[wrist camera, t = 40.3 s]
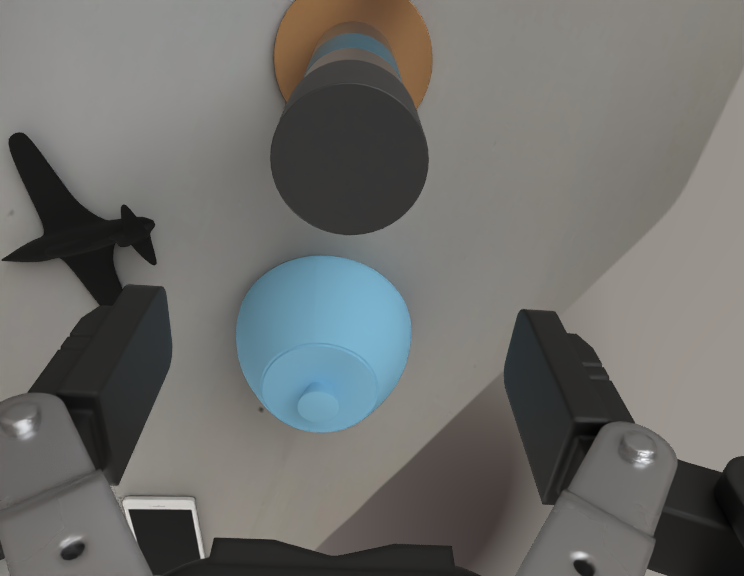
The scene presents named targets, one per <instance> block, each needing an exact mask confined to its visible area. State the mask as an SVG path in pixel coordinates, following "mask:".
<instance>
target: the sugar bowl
mask: <svg viewBox="0 0 744 576" xmlns="http://www.w3.org/2000/svg"><path fill="white" fill-rule="evenodd" d="M236 344H237V353H238V358H239V362H240V365H241V368H242V371H243V374H244V376H245V378H246V380H247V382H248V384H249V385H250V387H251V389H252V390H253V392H254V393H255V395H256V396H257V397H258V399H259V400H260V401H261V402H262V404H263V405H264V406H265V407H266V409H268V410H269V411H270V412H271V413H272V414H273V415H274V416H275V417H276V418H278V419H279V420H280V421H282V422H284V423H285V424H287V425H289V426H292V427H294V428H297V429H300V430H304V431H309V432H334V431H339V430H343V429H346V428H348V427H351V426H353V425H355V424H357V423H358V422H360V421H361V420H363V419H364V418H366V417H367V416H369V415H370V414H371V413H372V412H373V411H374V410H375V409H376V408H377V407H378V406H379V405H380V404H381V403H382V402H383V401H384V400H385V399H386V398H387V397H388V395H389V394H390V393H391V392H392V390H393V389H394V388H395V386H396V384H397V383H398V381H399V379H400V377H401V375H402V373H403V371H404V368H405V365H406V362H407V359H408V355H409V351H410V345H411V321H410V316H409V312H408V309H407V306H406V304H405V302H404V300H403V298H402V297H401V295H400V293H399V292H398V291H397V290H396V288H395V287H394V286H393V285H392V284H391V283H390V282H389V281H388V280H387V279H386V278H385V277H384V276H382V275H381V274H380V273H378V272H377V271H375V270H374V269H372V268H370V267H368V266H366V265H364V264H361V263H359V262H356V261H354V260H350V259H346V258H342V257H335V256H320V255H318V256H307V257H302V258H297V259H293V260H290V261H287V262H285V263H282V264H280V265H278V266H276V267H274V268H273V269H271V270H270V271H268V272H267V273H265V274H264V275H263V276H262V277H261V278H259V279H258V280H257V281H256V282H255V283H254V284H253V286H252V287H251V288H250V289H249V291H248V292H247V294H246V296H245V297H244V299H243V302H242V304H241V307H240V311H239V315H238V319H237V326H236Z"/></svg>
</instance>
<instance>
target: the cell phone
mask: <svg viewBox="0 0 744 576" xmlns="http://www.w3.org/2000/svg"><path fill="white" fill-rule="evenodd" d="M122 503H123V507H124V510H125V514H126V518H127V521H128V524H129V526H130V529H131V531H132V533H133V535H134V537H135V539H136V541H137V543H138V545H139V547H140V549H141V551H142V553H143V555H144V557H145V559H146V562H147V564H148V566H149V568H150V570H151V572H152V574H153V576H162V575H164V574H165V573H167V572H169V571H171V570H173V569H175V568H177V567H180V566H182V565H184V564H187V563H190V562H193V561H196V560H199V559H203V558H205V553H204V548H203V542H202V537H201V531H200V526H199V520H198V515H197V509H196V503H195V499H194V498H193V497H156V496H128V497H124V499H123V502H122Z"/></svg>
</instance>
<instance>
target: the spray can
mask: <svg viewBox="0 0 744 576" xmlns="http://www.w3.org/2000/svg"><path fill="white" fill-rule="evenodd" d="M340 60H360V61H366V62H369V63H373V64H375V65H378V66H380V67H382V68H384V69H385V70H387V71H388V72H390V73H391V74H393V75H394V76H395V77H396V78H397V79H398V80H399V81H400V82H401V83H402V79H401V76H400V72H399V69H398V66H397V63H396V59H395V56H394V53H393V50H392V47H391V45H390V43H389V42H388V40H387V39H386V37H385V36H384V35H383V34H382V33H381V32H380V31H379V30H378V29H376V28H375V27H373V26H371V25H369V24H366V23H363V22H358V21H349V22H343V23H340V24H337V25H335V26H333V27H332V28H330V29H329V30H328V31H326V32H325V33H324V34H323V36H322V37H321V38H320V40H319V41H318V43H317V45H316V47H315V49H314V52H313V55H312V57H311V60H310V62H309V64H308V67H307V69H306V72H305V74H304V77H305V76H307V75H308V74H309V73H310V72H312V71H313V70H315V69H317V68H318V67H320V66H323V65H325V64H327V63H331V62H334V61H340ZM304 77H303V78H304ZM402 84H403V83H402Z"/></svg>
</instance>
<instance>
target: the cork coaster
mask: <svg viewBox="0 0 744 576" xmlns="http://www.w3.org/2000/svg"><path fill="white" fill-rule="evenodd" d="M349 21H358V22H363V23H366V24H369V25H371V26H373V27H375V28H376V29H378V30H379V31H380V32H381V33H382V34H383V35H384V36H385V37H386V39H387V40H388V42H389V43H390V45H391V47H392V50H393V53H394V56H395V59H396V63H397V66H398V69H399V72H400V76H401V79H402V83H403V85H404V86H405V88H406V89H407V91H408V92H409V94H410V96H411V98H412V100H413V102H414V105H415V107H416V109H417V108H418V106H419V105H420V103H421V101H422V100H423V97H424V95H425V93H426V91H427V88H428V85H429V82H430V77H431V72H432V47H431V41H430V37H429V33H428V30H427V27H426V25H425V23H424V21H423V18H422V16H421V15H420V13H419V12H418V10H417V9H416V7H415V6H414V5H413V3H412V2H411V1H410V0H295V1H294V2H293V3H292V4H291V6H290V7H289V9H288V10H287V12H286V13H285V15H284V17H283V19H282V21H281V24H280V26H279V29H278V32H277V35H276V41H275V46H274V67H275V73H276V78H277V82H278V85H279V88H280V90H281V92H282V95H283V97H284V99H285V101H286V102H288V100H289V98H290V96H291V94H292V92H293V90H294V89H295V88H296V86H297V85H298V84H299V82H300V81H301V80H302V79H303V77H304V74H305V72H306V69H307V67H308V64H309V62H310V60H311V57H312V55H313V52H314V49H315V47H316V45H317V43H318V41H319V40H320V38H321V37H322V36H323V34H324V33H325V32H326V31H328V30H329V29H330V28H332V27H333V26H335V25H337V24H340V23H343V22H349Z"/></svg>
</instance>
